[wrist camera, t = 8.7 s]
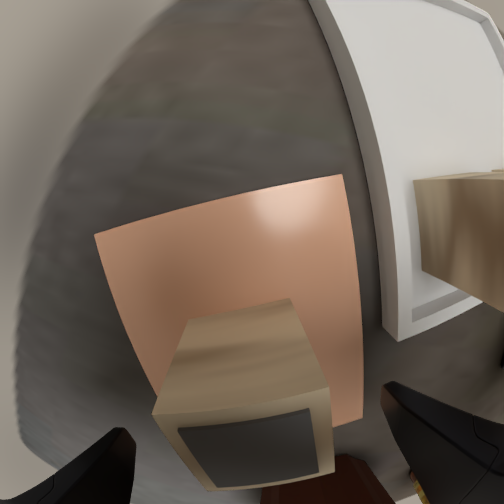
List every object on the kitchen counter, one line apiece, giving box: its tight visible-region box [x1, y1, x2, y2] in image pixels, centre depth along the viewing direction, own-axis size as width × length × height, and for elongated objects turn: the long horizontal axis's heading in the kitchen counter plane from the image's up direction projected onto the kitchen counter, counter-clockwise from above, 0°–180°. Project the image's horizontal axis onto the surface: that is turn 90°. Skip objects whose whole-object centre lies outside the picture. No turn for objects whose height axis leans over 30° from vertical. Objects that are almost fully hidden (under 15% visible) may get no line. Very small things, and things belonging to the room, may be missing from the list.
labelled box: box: [151, 298, 335, 491], centre depth 9 cm, size 4×4×6 cm
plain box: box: [413, 172, 504, 313], centre depth 8 cm, size 4×4×6 cm
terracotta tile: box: [94, 174, 364, 427], centre depth 12 cm, size 14×11×1 cm
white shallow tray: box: [308, 0, 504, 342], centre depth 10 cm, size 20×16×2 cm
